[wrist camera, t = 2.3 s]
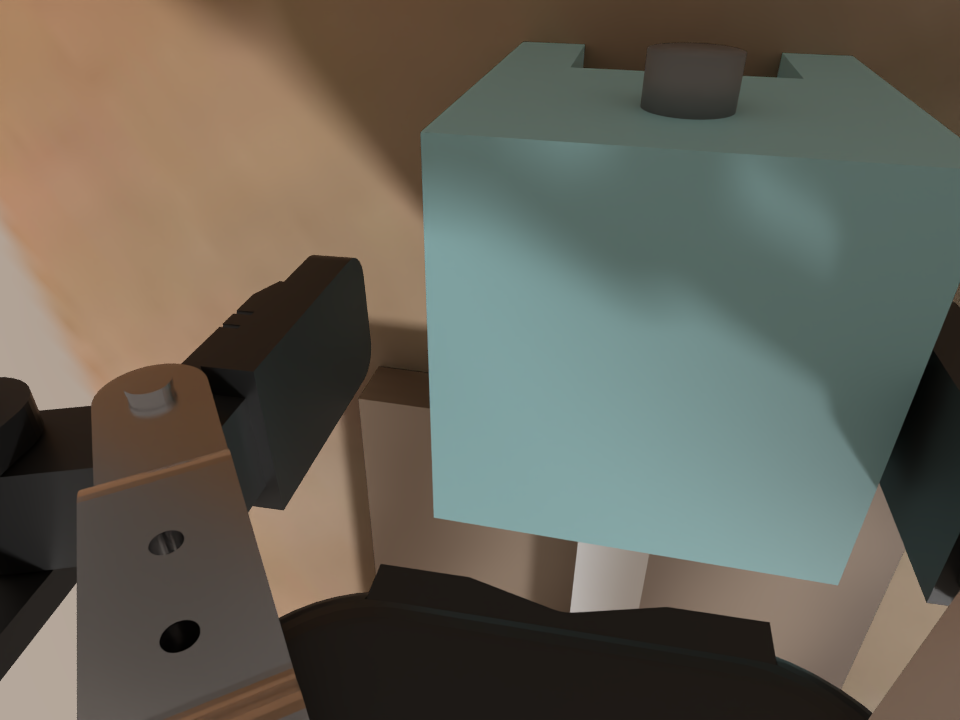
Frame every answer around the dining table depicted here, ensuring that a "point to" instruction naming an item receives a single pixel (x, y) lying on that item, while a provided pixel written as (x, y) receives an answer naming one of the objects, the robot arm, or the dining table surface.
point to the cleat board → (547, 559)
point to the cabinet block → (682, 299)
